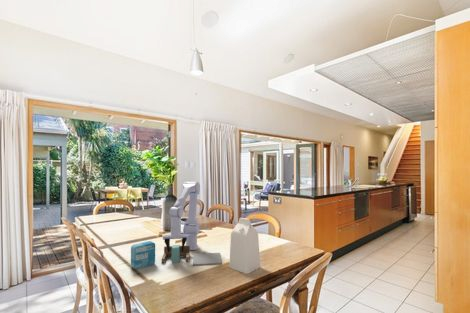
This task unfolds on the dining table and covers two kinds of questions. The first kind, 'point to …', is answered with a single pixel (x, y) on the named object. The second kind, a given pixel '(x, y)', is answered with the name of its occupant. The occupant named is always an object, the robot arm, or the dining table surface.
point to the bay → (185, 252)
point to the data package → (142, 254)
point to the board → (206, 259)
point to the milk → (244, 247)
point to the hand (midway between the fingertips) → (175, 251)
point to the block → (175, 253)
